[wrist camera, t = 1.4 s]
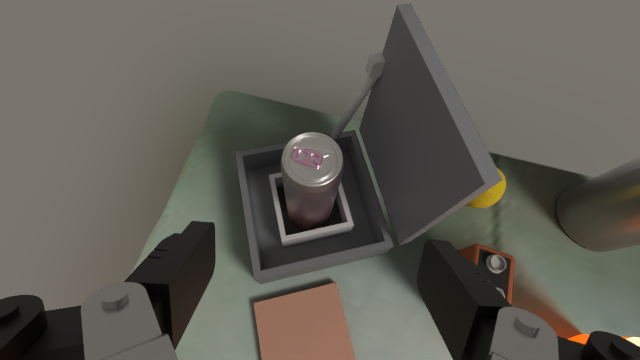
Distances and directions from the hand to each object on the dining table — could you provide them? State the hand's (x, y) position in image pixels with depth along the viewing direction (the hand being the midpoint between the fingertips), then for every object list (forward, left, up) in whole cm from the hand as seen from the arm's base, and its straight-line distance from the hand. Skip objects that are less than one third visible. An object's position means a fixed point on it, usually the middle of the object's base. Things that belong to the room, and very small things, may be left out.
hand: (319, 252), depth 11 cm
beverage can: (-3, -10, -28) cm, 30 cm away
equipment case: (-3, -10, -28) cm, 30 cm away
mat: (+1, +5, -28) cm, 28 cm away
